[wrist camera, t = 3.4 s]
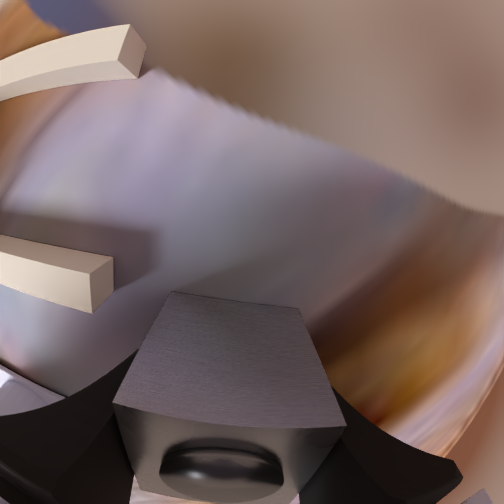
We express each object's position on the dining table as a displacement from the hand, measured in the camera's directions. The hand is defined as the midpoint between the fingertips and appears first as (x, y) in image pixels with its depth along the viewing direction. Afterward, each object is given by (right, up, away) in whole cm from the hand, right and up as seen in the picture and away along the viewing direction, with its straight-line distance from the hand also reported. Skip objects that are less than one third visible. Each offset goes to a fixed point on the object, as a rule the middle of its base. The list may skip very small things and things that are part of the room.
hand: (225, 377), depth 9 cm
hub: (0, 0, +2) cm, 2 cm away
